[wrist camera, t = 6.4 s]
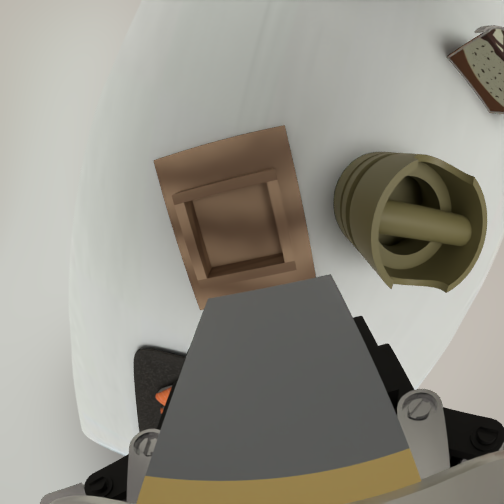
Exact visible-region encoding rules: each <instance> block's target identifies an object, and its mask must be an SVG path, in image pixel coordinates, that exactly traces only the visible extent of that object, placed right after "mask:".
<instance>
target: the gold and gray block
mask: <svg viewBox="0 0 504 504" xmlns="http://www.w3.org/2000/svg"><path fill="white" fill-rule="evenodd" d="M420 481H421V478H420V475H419V472H418V470H417V467H416V464H415V461H414V459H413V456H412V453H411V451H410V448H409V445H408V443H407V440H406V437H405V435H404V432H403V430H402V427H401V425H400V422H399V420H398V417H397V415H396V413H395V410H394V408H393V405H392V403H391V401H390V398H389V396H388V394H387V391H386V389H385V387H384V384H383V382H382V380H381V377H380V375H379V373H378V371H377V368H376V366H375V364H374V362H373V360H372V357H371V355H370V353H369V351H368V349H367V347H366V344H365V342H364V340H363V338H362V336H361V334H360V332H359V330H358V328H357V326H356V323H355V321H354V319H353V317H352V315H351V313H350V311H349V309H348V307H347V305H346V303H345V301H344V299H343V297H342V295H341V293H340V291H339V289H338V287H337V285H336V283H335V281H334V280H333V278H332V276H331V274H330V275H325V276H321V277H316V278H311V279H307V280H302V281H297V282H292V283H288V284H283V285H278V286H273V287H268V288H263V289H258V290H252V291H247V292H242V293H237V294H231V295H226V296H220V297H215V298H209V299H208V300H207V303H206V305H205V308H204V311H203V313H202V316H201V319H200V321H199V324H198V327H197V329H196V332H195V335H194V337H193V340H192V343H191V346H190V348H189V351H188V354H187V356H186V359H185V362H184V365H183V367H182V370H181V373H180V376H179V379H178V381H177V384H176V387H175V390H174V393H173V395H172V398H171V401H170V404H169V407H168V410H167V413H166V415H165V418H164V421H163V424H162V427H161V430H160V433H159V436H158V439H157V442H156V445H155V448H154V451H153V454H152V457H151V460H150V463H149V466H148V469H147V472H146V475H145V478H144V481H143V484H142V487H141V490H140V493H139V497H138V500H137V503H136V504H346V503H351V502H355V501H359V500H363V499H367V498H371V497H375V496H378V495H382V494H385V493H388V492H392V491H395V490H398V489H401V488H404V487H407V486H409V485H412V484H415V483H418V482H420Z"/></svg>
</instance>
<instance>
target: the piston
mask: <svg viewBox="0 0 504 504" xmlns="http://www.w3.org/2000/svg"><path fill="white" fill-rule="evenodd" d="M334 212H335V217H336V220H337V223H338V225H339V227H340V229H341V231H342V232H343V234H344V235H345V236H346V237H347V238H348V240H349V241H350V242H351V243H352V244H353V245H354V246H355V248H356V249H357V250H358V251H359V252H360V253H361V254H362V256H363V257H364V258H365V259H366V260H367V262H368V263H369V264H370V265H371V266H372V268H373V269H374V270H375V271H376V272H377V274H378V275H379V276H380V277H381V278H382V280H383V281H384V282H385V283H386V285H387V286H388V287H389V288H390V289H392V286H393V284H401V285H415V286H428V287H434V288H438V289H441V290H443V291H444V292H446V293H447V292H449V291H450V290H452V289H453V288H455V287H456V286H457V285H458V284H459V283H460V282H462V281H463V279H464V278H465V277H466V276H467V275H468V274H469V272H470V271H471V270H472V268H473V267H474V265H475V263H476V261H477V260H478V258H479V255H480V253H481V250H482V248H483V244H484V241H485V236H486V230H487V209H486V203H485V199H484V195H483V193H482V190H481V188H480V186H479V184H478V182H477V180H476V179H475V177H473V176H470V175H468V174H466V173H464V172H462V171H460V170H459V169H457V168H455V167H453V166H452V165H450V164H448V163H446V162H444V161H442V160H440V159H438V158H435V157H432V156H428V155H422V154H408V153H392V152H373V153H368V154H365V155H363V156H361V157H359V158H357V159H356V160H354V161H353V162H352V163H351V164H350V165H349V166H348V167H347V168H346V169H345V170H344V172H343V173H342V175H341V176H340V178H339V180H338V183H337V185H336V189H335V193H334Z"/></svg>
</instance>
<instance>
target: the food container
mask: <svg viewBox="0 0 504 504" xmlns="http://www.w3.org/2000/svg"><path fill="white" fill-rule="evenodd" d="M479 32H483V33H482V34H480V35H479V36H477V37H475V38H474V39H472V40H471V41H469V42H468V43H466V44H465V45H463V46H461V47H460V48H458V49H457V50H455V51H454V52H452V53H451V54H449V55H448V56H447V58H448V59H449V60H450V62H451V63H452V64H453V65H454V66H455V67H456V69H457V70H458V71H459V72H460V73H461V75H462V76H463V77H464V78H465V80H466V81H467V82H468V83H469V85H470V86H471V87H472V89H473V90H474V91H475V93H476V94H477V95H478V97H479V98H480V99H481V101H482V102H483V104H484V105H485V106H486V108H487V109H488V111H489V112H490V113H497V114H504V27H500V26H495V25H493V26H483V27H480V28H478V29H477V30H476V31H475V33H479Z"/></svg>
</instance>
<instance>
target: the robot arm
mask: <svg viewBox="0 0 504 504" xmlns="http://www.w3.org/2000/svg"><path fill="white" fill-rule="evenodd" d="M353 319H354V321H355V323H356V326H357V328H358V330H359V332H360V334H361V336H362V338H363V340H364V342H365V344H366V347H367V349H368V351H369V353H370V355H371V357H372V360H373V362H374V364H375V366H376V368H377V371H378V373H379V375H380V377H381V380H382V382H383V384H384V387H385V389H386V391H387V394H388V396H389V398H390V401H391V403H392V405H393V408H394V410H395V413H396V415H397V417H398V420H399V422H400V425H401V427H402V430H403V432H404V435H405V437H406V440H407V443H408V445H409V448H410V451H411V453H412V456H413V459H414V461H415V464H416V467H417V470H418V472H419V475H420V478H421V481H420V482H418V483H415V484H412V485H409V486H407V487H404V488H401V489H398V490H395V491H392V492H388V493H385V494H382V495H378V496H375V497H371V498H367V499H363V500H359V501H355V502H351V503H346V504H504V427H503V426H502V424H501V423H499V422H498V421H497V420H494V419H492V418H487V417H482V416H477V415H473V414H468V413H464V412H460V411H456V410H451V409H448V408H444V407H443V405H442V401H441V399H440V397H439V396H438V395H437V394H436V393H435V392H433V391H431V390H427V389H416V390H414V388H413V386H412V385H411V383H410V381H409V379H408V377H407V375H406V373H405V372H404V370H403V368H402V366H401V364H400V362H399V361H398V359H397V357H396V355H395V353H394V352H393V350H392V348H391V346H390V345H389V344H384V345H380V346H378V345H377V343H376V341H375V339H374V337H373V335H372V334H371V332H370V330H369V328H368V326H367V324H366V322H365V320H364V319H363V317H362V316H358V317H354V318H353ZM188 351H189V350H188ZM187 354H188V352H187ZM186 356H187V355H186ZM185 359H186V358H185ZM184 362H185V361H184ZM183 365H184V363H183ZM182 367H183V366H182ZM181 370H182V369H181ZM180 373H181V372H180ZM179 376H180V374H179ZM178 379H179V377H178ZM177 381H178V380H176V381H174V383H173V385H172V388H171V390H170V393H169V396H168V399H167V401H166V404H165V407H164V410H163V412H162V415H161V418H160V421H159V424H158V426H157V429H147V430H144V431H141V432H140V433H138V434H137V435H136V436H135V437H133V439H132V441H131V442H130V446H129V454H128V455H127V456H125V457H123V458H121V459H119V460H118V461H116V462H114V463H112V464H110V465H108V466H107V467H105V468H103V469H101V470H99V471H97V472H95V473H93V474H92V475H90V476H89V478H88V479H87V480H86V482H85V485H83V484H82V483H79V484H76V485H73V486H70V487H68V488H65V489H61V490H58V491H55V492H52V493H49V494H47V495H45V496H44V497H43V498H42V499H41V502H40V504H136V503H137V500H138V497H139V493H140V490H141V487H142V484H143V481H144V478H145V475H146V472H147V469H148V466H149V463H150V460H151V457H152V454H153V451H154V448H155V445H156V442H157V439H158V436H159V433H160V430H161V427H162V424H163V421H164V418H165V415H166V413H167V410H168V407H169V404H170V401H171V398H172V395H173V393H174V390H175V387H176V384H177Z"/></svg>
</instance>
